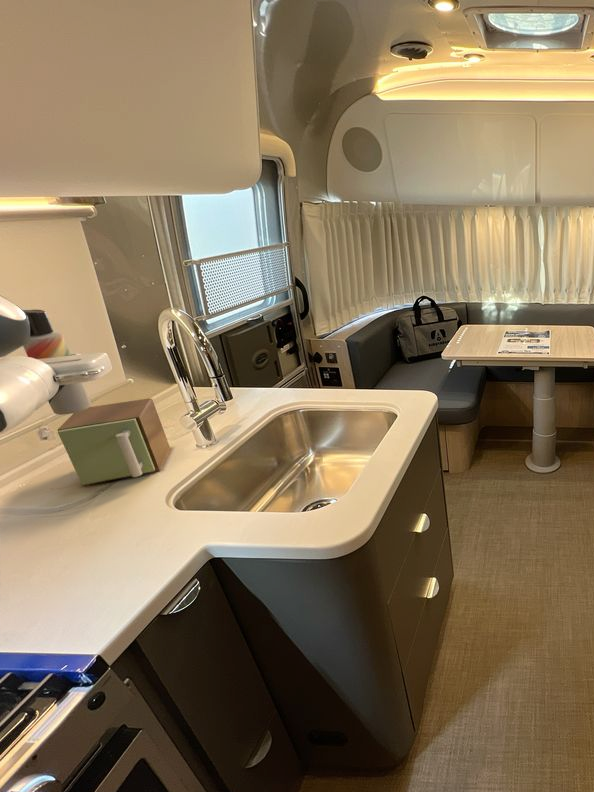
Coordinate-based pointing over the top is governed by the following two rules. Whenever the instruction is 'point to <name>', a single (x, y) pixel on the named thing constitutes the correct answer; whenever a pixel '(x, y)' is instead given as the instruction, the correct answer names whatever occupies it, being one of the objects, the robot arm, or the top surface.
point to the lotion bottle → (51, 346)
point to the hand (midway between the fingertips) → (54, 360)
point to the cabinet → (124, 411)
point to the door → (107, 451)
